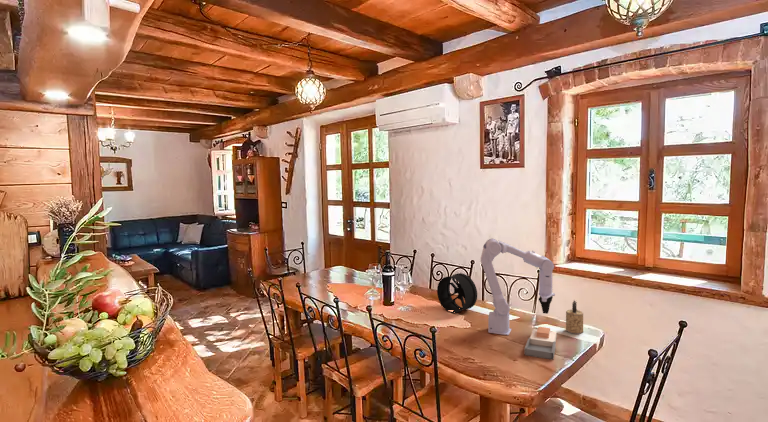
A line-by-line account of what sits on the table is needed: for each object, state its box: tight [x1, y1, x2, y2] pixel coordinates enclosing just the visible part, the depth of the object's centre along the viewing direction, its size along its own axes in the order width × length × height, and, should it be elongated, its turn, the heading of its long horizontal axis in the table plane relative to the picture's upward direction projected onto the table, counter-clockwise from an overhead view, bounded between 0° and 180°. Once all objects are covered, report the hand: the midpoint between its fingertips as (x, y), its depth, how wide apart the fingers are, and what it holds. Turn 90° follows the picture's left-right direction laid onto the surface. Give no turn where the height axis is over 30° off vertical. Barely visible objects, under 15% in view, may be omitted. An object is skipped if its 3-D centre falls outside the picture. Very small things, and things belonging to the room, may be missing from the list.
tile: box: [537, 326, 551, 338], centre depth 183 cm, size 5×7×2 cm
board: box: [529, 328, 558, 347], centre depth 182 cm, size 10×12×2 cm
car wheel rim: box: [436, 272, 478, 314], centre depth 225 cm, size 20×10×20 cm, turn 40°
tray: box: [523, 337, 557, 361], centre depth 171 cm, size 11×12×3 cm
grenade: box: [565, 299, 584, 335], centre depth 191 cm, size 8×7×15 cm
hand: (545, 312), depth 191 cm, fingers closed
